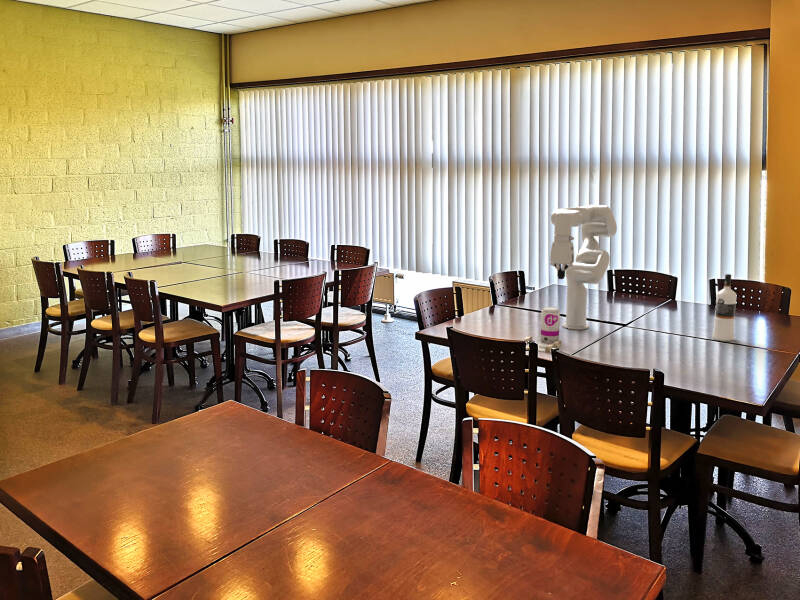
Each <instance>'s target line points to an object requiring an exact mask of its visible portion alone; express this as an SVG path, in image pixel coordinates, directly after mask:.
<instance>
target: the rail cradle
mask: <svg viewBox="0 0 800 600" xmlns="http://www.w3.org/2000/svg"><path fill="white" fill-rule="evenodd" d="M521 340H524V341H526V342H527V343H528V341H529V340H532V341H533V336H532V335H528V336H526V337H524V338H521ZM536 342H537V343H538V345H539V351H538V352H541V353H547V354H549V353H551V352H550V350H551V349H552V348H557V347H558V348H560V347H562V340H560V339H559V340H557V341H555V342H554V343H547V342H543V341H536ZM528 344H529V343H528ZM528 344H526V345H527V349H526V350H528ZM559 346H560V347H559ZM558 348H557V349H558ZM528 351H529V350H528Z"/></svg>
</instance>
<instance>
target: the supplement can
mask: <svg viewBox="0 0 800 600" xmlns="http://www.w3.org/2000/svg"><path fill="white" fill-rule="evenodd" d="M540 318H541V319H540V340H541V342H543V341H544V342H543V343H547V342H555V341H557V340H560V323H561V312H560V309H559V308H558V307H556V306H555V307H553V306H545V307H543V308H542V310H541V313H540Z"/></svg>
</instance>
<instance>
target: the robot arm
mask: <svg viewBox="0 0 800 600" xmlns="http://www.w3.org/2000/svg"><path fill="white" fill-rule="evenodd" d="M550 216H551V217H550V222H551V224H552V225H553V226H554V232H553V233H554V234H553V235H554V236H553V237H554V238H553V241H552V243H551V248H550V255H549V256H550V259H549V260H550V263H549V265H550V266H552V267H554V268H555V269H556V270H557V279H558V280H564V279H565V278H566V309H565V310H566V311H565V312H566V313H565V314H566V315H565V322H564V323H562V327H563V328H565V329H567V328H568V329H569V330H579V331H580V330H587V329H589V328H590V324H588V323H587V319H588V318H587V306H588V305H587V302H588V300H587V299H588V290H587V288H586V286H585V284H587V285H589V284H590V285H598V284H600V283H601V282H602V280H603V278H604V276H605V274H606V272H607V270H608V267H609V265H610V261H611V260H610V254H609V252H608V251H607V250H605V249H600V244H599V242H598V240H597V239H596V238H595V237H603V238H604V237H605V238H612V237H614V236H615V235H616V233H617V229H618V226H617V221H616V219H615V216H614V214H613V212H612V210H611V208H610V207H609V206H608V205H605V204H604V205H601V204H586V205H582V206H574V207H565V208H564V207H563V208H557V209H555V210H554V211H552V213H551V215H550ZM579 226H581V239H582V244H581V246H580V249H579V250H578V252H577V254H576V256H575V248H574V242H573V241H574V240H575V237H574V236H572V228H576V227H579ZM568 329H567V330H568Z"/></svg>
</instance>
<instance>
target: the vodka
mask: <svg viewBox="0 0 800 600" xmlns="http://www.w3.org/2000/svg"><path fill="white" fill-rule="evenodd" d="M731 282H732V274H731V273H726V274H725V275H724V286H723V288H722V289H721V290H719V291H718V292H717V293H716V300H715V316H714V324H713V325H714V326H713V331H712V335H711V337H712V339H713V340H715V339H716V341H718V340H720V341H719V342H732V341H734V340H735V329H734V328H735V319H736V315H735V314H736V303H737V298H738V297H737V293H736V292H735V291H734V290H733V289H731V285H732V284H731Z"/></svg>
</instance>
